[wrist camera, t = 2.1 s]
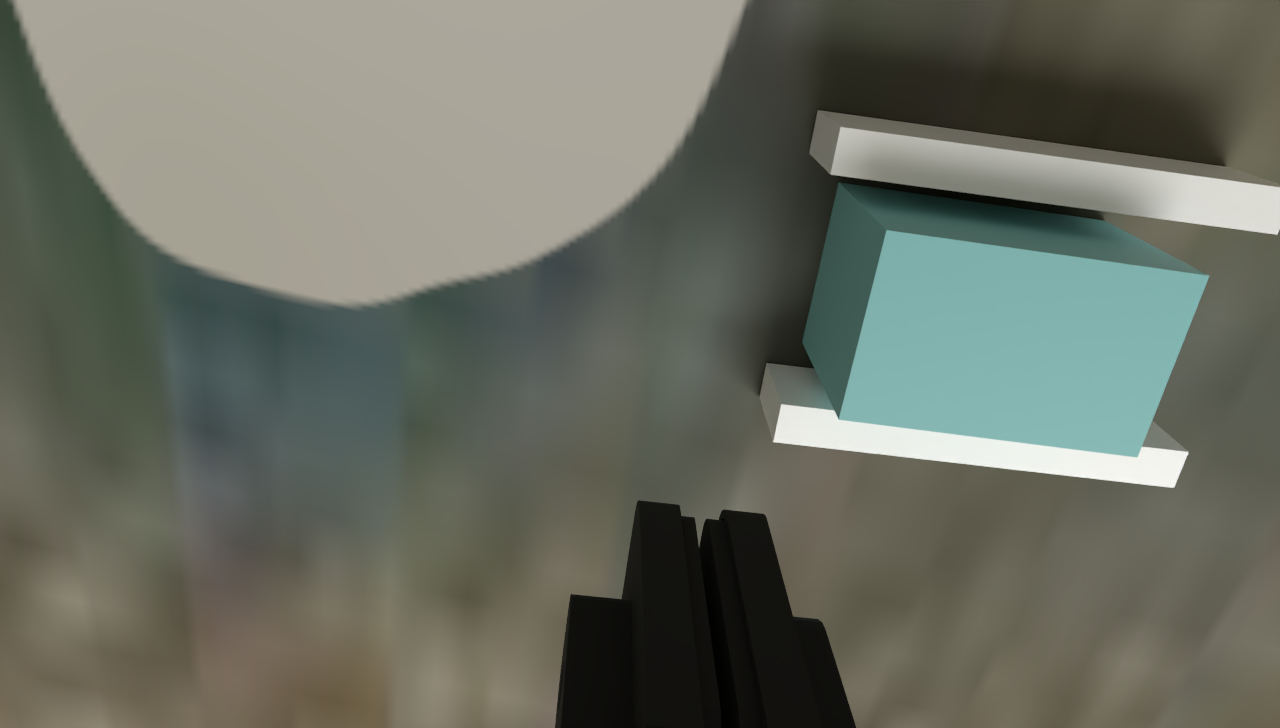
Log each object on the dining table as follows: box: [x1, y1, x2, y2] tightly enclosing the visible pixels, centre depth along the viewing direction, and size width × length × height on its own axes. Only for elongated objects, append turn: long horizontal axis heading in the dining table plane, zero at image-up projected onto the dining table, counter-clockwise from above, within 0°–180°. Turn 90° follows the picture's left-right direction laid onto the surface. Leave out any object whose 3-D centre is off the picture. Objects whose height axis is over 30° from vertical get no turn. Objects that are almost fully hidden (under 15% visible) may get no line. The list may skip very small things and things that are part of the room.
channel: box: [759, 110, 1280, 488], centre depth 27 cm, size 9×12×3 cm
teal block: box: [802, 182, 1209, 457], centre depth 26 cm, size 5×8×6 cm, turn 82°
